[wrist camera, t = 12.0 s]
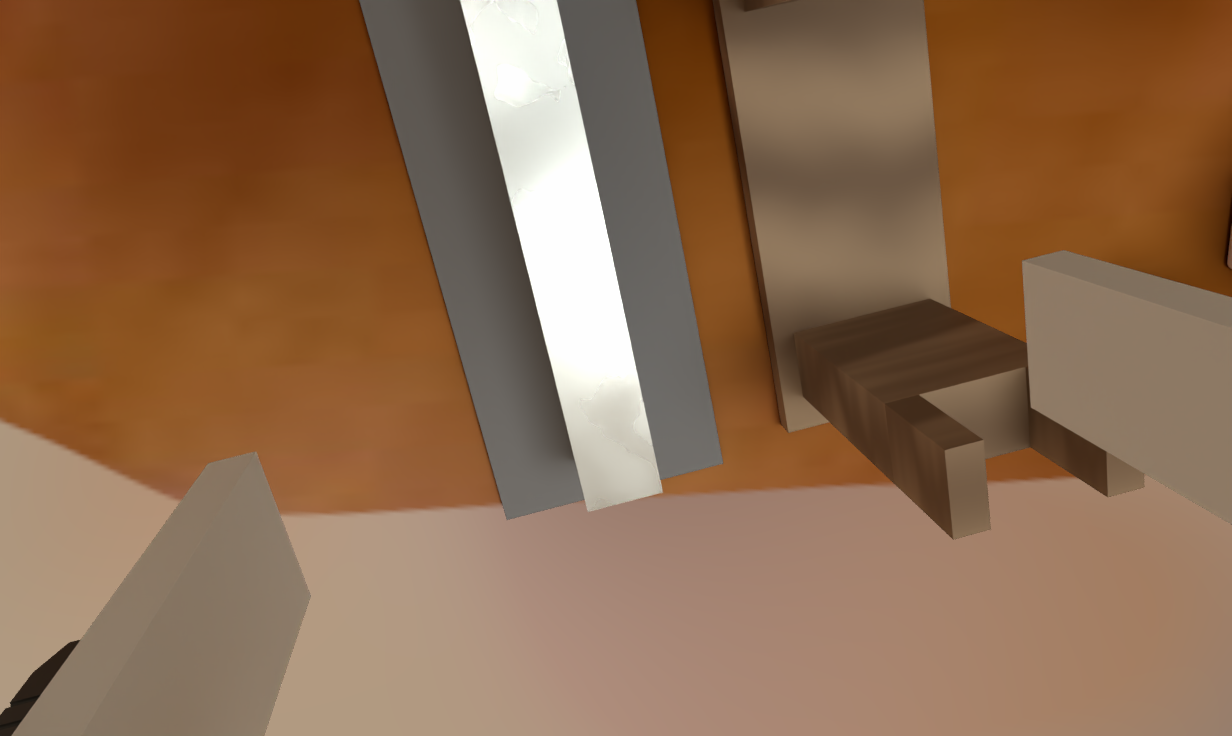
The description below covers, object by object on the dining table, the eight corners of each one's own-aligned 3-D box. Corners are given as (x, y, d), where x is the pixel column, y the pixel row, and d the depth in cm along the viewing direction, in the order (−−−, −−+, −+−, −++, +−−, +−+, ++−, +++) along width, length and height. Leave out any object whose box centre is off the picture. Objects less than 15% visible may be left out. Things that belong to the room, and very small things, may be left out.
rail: (453, -26, 32) (449, -46, 28) (533, -44, 33) (542, -66, 28) (574, 460, 39) (587, 511, 34) (640, 443, 39) (662, 492, 34)
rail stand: (695, -108, 33) (839, -239, 20) (897, -151, 34) (1168, -305, 20) (781, 424, 40) (929, 589, 27) (946, 381, 41) (1171, 522, 28)
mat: (341, -65, 32) (340, -67, 31) (611, -121, 32) (612, -123, 32) (506, 516, 40) (507, 520, 39) (721, 460, 40) (723, 463, 40)
